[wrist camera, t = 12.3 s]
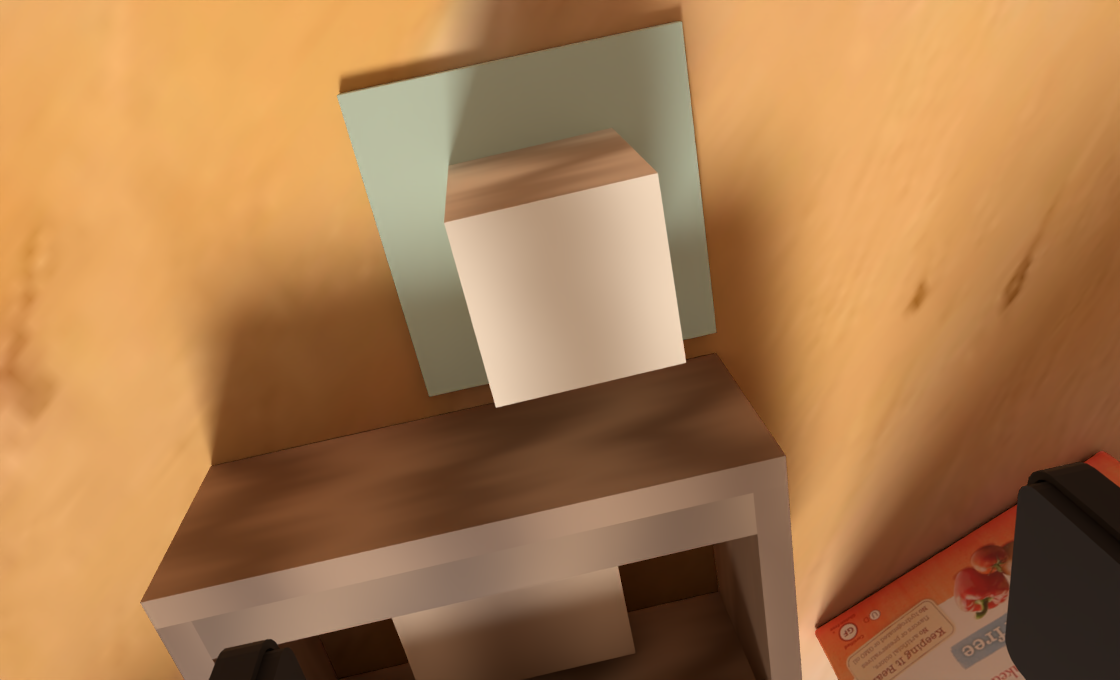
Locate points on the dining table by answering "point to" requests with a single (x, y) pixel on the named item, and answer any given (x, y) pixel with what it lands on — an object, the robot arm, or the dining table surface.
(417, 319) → the panel
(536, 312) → the block
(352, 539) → the crate
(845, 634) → the cracker box
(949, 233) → the dining table surface
